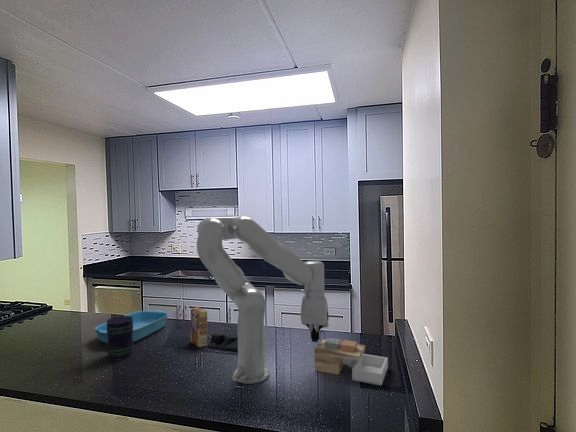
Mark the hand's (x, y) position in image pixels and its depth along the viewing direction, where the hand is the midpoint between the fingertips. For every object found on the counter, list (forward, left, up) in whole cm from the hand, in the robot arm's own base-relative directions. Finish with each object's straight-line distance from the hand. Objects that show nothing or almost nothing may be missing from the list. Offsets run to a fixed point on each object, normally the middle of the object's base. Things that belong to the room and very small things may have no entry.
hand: (315, 340), depth 133 cm
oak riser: (0, -10, -9) cm, 13 cm away
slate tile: (0, -7, -1) cm, 7 cm away
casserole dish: (-3, +93, -10) cm, 93 cm away
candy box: (-1, +55, -9) cm, 56 cm away
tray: (0, -21, -9) cm, 23 cm away
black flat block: (+4, +39, -10) cm, 41 cm away
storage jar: (-24, +77, -9) cm, 81 cm away
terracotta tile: (0, -13, -1) cm, 13 cm away
